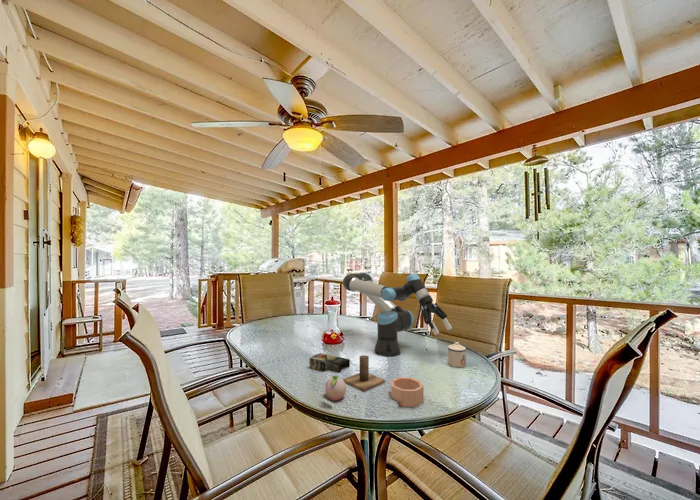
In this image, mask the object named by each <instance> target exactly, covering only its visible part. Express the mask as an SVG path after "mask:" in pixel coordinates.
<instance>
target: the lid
mask: <svg viewBox="0 0 700 500" xmlns="http://www.w3.org/2000/svg"><path fill="white" fill-rule="evenodd" d="M369 360H370V359H369V355H367V354H365V355H359V373H356V374H353V375H350V376H348V377H346V378H343V379H342V380H343V381H344V382H345V383H347V384H349V385H351V386H353V387H355V388H357V389H359V390H361V391H360V392H362V391H363V392H362V393H364V392H365V391H367V390H369V391H371V390H370V389H372V388H374V387H376V386H378V387H380V386H379V385H381V384H383V383H385V382H386V379H384V378H381V377H379V376H376V375H374V374H371V373H370V372H369V369H370V367H369V364H370V363H369V362H370V361H369ZM347 384H346V385H347ZM385 384H386V383H385ZM349 385H348V386H349ZM383 385H384V384H383ZM351 386H350V387H351ZM381 386H382V385H381ZM353 387H352V388H353ZM355 388H354V389H355ZM376 388H377V387H376ZM357 389H356V390H357ZM374 389H375V388H374ZM359 390H358V391H359ZM372 390H373V389H372ZM367 392H368V391H367ZM365 393H366V392H365Z"/></svg>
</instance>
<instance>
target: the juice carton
mask: <svg viewBox="0 0 700 500" xmlns="http://www.w3.org/2000/svg"><path fill="white" fill-rule="evenodd" d="M308 360H309V369H311V370H312V369H313V370H316V371H320V372H325V373H326V372H328V371H330V372H334V373H338V374H341V370H342V366H347V367H348V368H350V361H351V359H349V358H344V357H340V356H336V355H331V354H327V353H321V352H320V353H317V354H314V355H313V356H311V357H309V359H308Z"/></svg>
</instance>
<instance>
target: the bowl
mask: <svg viewBox="0 0 700 500" xmlns="http://www.w3.org/2000/svg"><path fill="white" fill-rule="evenodd" d="M390 397H391V399H393V400H395V401H398V402H397V403H396V405H398V406H400V407H408V408H410V407H411V408H412V407H413V408H417V407H418V406H420V405H422V404H423V403H424V385H423V383H422V381H421V380H418V379H417V378H416V379H415V378H414V377H413V378H412V377H409V376H408V377H403V376H402V377H399V376H398V377H396V378H394V379H392V380H390Z"/></svg>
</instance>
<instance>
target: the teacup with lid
mask: <svg viewBox="0 0 700 500" xmlns="http://www.w3.org/2000/svg"><path fill="white" fill-rule="evenodd" d="M447 350H448V351H447V355H448V359H447V363H448V365H449V366H450V367H454V368H465V367H466V364H467V363H466V362H467V360H466V359H467V357H466V356H467V355H466V351H467V348H466V347H465V346H463V345H461V344H460V342H458V341H454V343H453V344H449V345H448V346H447Z"/></svg>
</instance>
